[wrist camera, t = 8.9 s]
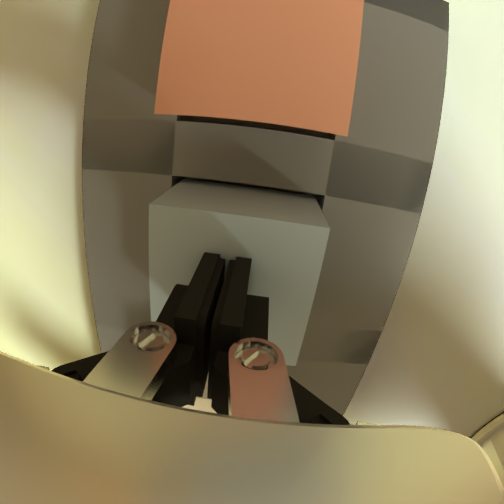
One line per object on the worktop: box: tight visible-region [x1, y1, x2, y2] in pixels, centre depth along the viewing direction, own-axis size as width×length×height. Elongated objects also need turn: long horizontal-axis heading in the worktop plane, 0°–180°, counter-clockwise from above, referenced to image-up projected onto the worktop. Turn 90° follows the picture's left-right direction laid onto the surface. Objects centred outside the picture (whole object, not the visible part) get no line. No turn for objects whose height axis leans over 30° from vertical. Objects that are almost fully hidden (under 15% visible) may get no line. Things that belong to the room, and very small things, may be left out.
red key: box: [154, 0, 364, 137], centre depth 10 cm, size 6×6×4 cm
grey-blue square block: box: [149, 179, 330, 366], centre depth 13 cm, size 6×6×4 cm
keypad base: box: [82, 0, 449, 416], centre depth 16 cm, size 16×28×3 cm, turn 173°
